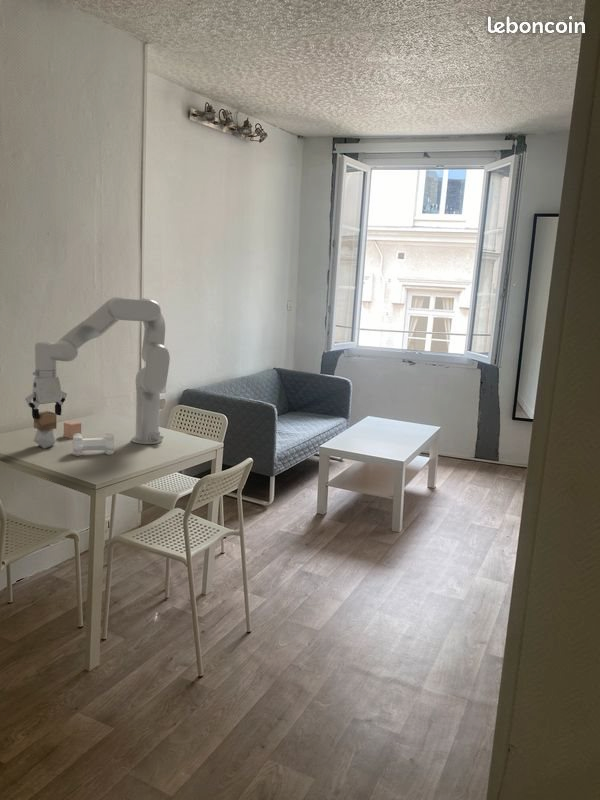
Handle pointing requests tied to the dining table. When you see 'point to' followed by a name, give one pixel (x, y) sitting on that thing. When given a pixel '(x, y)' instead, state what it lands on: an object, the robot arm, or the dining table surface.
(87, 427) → the dining table surface
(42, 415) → the block walnut
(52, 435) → the die
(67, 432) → the block terracotta
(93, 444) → the dog bone
